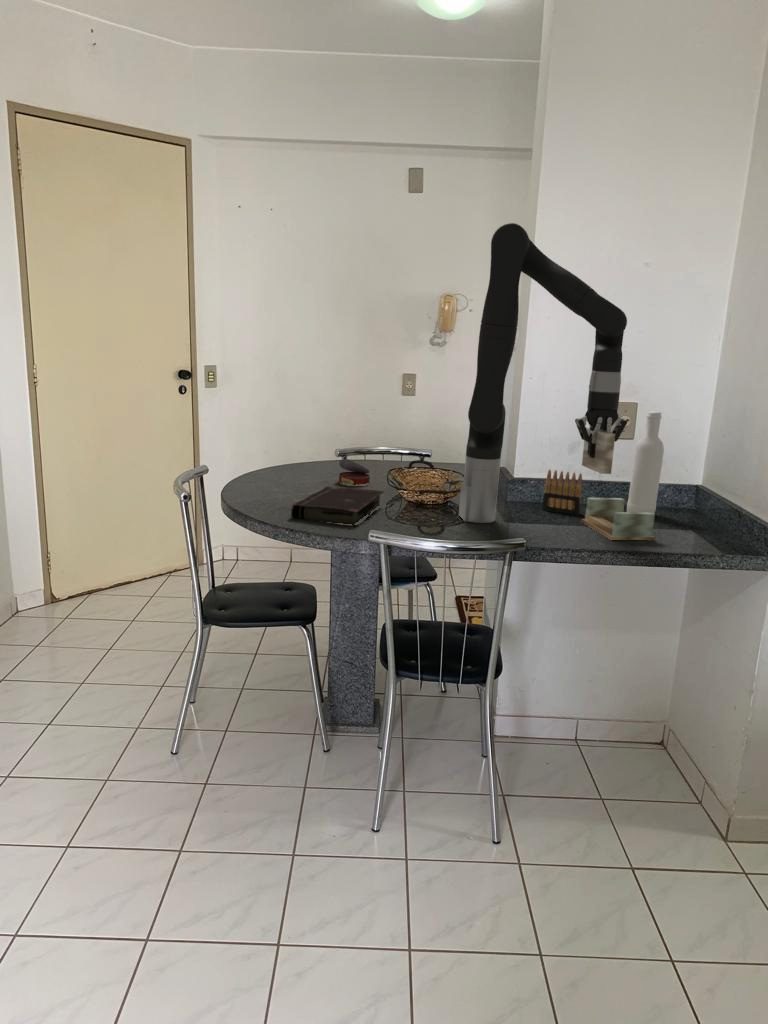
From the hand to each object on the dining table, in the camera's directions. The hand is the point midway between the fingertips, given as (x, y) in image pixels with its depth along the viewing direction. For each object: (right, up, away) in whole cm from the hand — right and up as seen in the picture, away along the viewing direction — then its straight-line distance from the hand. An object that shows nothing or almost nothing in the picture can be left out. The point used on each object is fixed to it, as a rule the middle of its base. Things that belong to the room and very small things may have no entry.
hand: (597, 457), depth 194 cm
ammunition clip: (-4, -14, +25) cm, 29 cm away
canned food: (-64, -5, +48) cm, 80 cm away
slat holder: (+7, -19, +7) cm, 21 cm away
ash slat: (0, -3, +1) cm, 3 cm away
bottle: (+20, -15, +28) cm, 37 cm away
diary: (-67, -15, +10) cm, 69 cm away
